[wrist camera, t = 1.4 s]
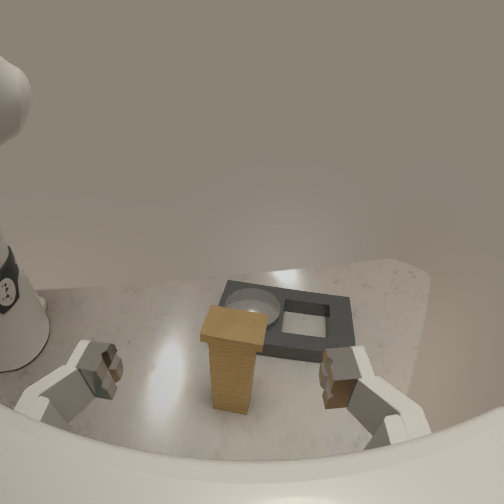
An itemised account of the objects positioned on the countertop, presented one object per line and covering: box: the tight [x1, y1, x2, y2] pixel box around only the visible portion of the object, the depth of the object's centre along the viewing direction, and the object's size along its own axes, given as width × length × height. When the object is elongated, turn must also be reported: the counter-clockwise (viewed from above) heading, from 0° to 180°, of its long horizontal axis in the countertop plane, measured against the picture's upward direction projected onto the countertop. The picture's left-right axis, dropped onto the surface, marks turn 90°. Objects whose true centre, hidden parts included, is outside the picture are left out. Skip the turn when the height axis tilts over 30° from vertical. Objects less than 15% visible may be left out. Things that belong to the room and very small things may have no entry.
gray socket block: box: [218, 280, 355, 363], centre depth 42 cm, size 20×12×3 cm, turn 81°
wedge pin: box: [200, 305, 269, 415], centre depth 28 cm, size 5×4×14 cm
